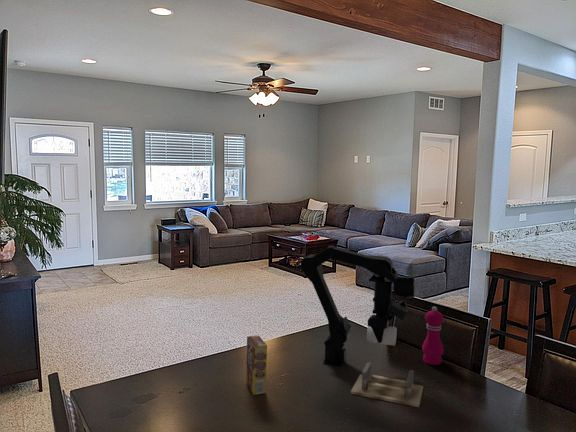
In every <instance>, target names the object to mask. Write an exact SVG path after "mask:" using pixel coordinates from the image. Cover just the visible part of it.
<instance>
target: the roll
mask: <svg viewBox="0 0 576 432" xmlns="http://www.w3.org/2000/svg"><path fill="white" fill-rule="evenodd" d="M397 331H398V330H397V327H395V326H388V327H387V328H386V329H384V334H383V338H382V343H378V341H377V339H376V336H375V334H374V332H373V330H372V328H371V327H370V326H368V325H367V329H366V341H367V342H369V343H375V344H381V345H388V346H395V345H396V343H397V333H398V332H397Z"/></svg>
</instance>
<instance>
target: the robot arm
mask: <svg viewBox="0 0 576 432" xmlns="http://www.w3.org/2000/svg"><path fill="white" fill-rule="evenodd" d="M330 259H331V260H335V261H339V262H343V263H345V264H349V265H353V266H357V267H360V268H364V269H365V270H367V271H369V272H370V273H373V274H372V275H371V276H370V277H369V278H368V281H369V282H373V283H374V284H373V285H374V287H373V289H374V292H373V297H372V302H373V309H372V314H371V316H369V318H368V319H367V327H368V326H370V327H371V328H372V330H373V332H374V334H375V336H376V339H377V341H378V343H377V344H380V343H382V338H383V334H384V329H386V328H387V327H388V326H389V325H390V324H389V323H390V321H391V320H392V319H393V318H394V317H396V318H399V320H400V321H405V320H406V317H407V315H408V312H409V310H410V308H409V307H408V305H407V302H406V301H405V300H401V301H400V302H397V301H394V297H393V296H392V290H393V293H394V295H396V297H402V298H413V299H414V298H415V294H416V293H415V292H416V289H415V288H416V285H415V276H401V275H399V273H398V272H397V271H396V269H395V268H394V263H393V261H392V259H391V258H390V257H388V256H382V255H366V254H362V253H358V252H355V251H351V250H349V249H344V248H340V247H336V246H335V245H329V246H328V247H326V248H324V249H322V250H321V251H319V252H318V253H316V254H309V255H307V256H306V257H304V258H303V259H302V260H301V262H300V269H301V270H302V272H303V274H304V275H305V277H306V279H308V280H309V281H310V282H311V284H312V285H313V288H314V290H315V293H316V295H317V297H318V300H319V303H320V305H321V308H322V309H323V312H324V314H325V316H326V318H327V324H328V325H327V326H328V332H329V334H328V335H327V338H325V340H324V342H323V345H324V360H323V364H326V365H333V366H336V367H337V366H338V367H342V365H343V364H344V363H345V361H346V360H347V359H346V357H347V355H346V354H347V349H346V348H345V343H346V342H347V340H348V338H349V336H350V334H351V327H352V325H351V324H350V323H349V321H348V317H347V316H344V317H343V316H342V315H341V314H340V313H339V311H338V308H337V306H336V303H335V301H334V299H333V295H332V294H331V292H330V289H329V287H328V284H327V282H326V280H325V277H324V267H323V264H324V263H325V262H327V261H329V260H330Z"/></svg>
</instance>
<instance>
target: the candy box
mask: <svg viewBox="0 0 576 432" xmlns="http://www.w3.org/2000/svg"><path fill="white" fill-rule="evenodd" d="M267 355H268V345H267V344H266V342H265V341H264V340H263V339H262V337H261V336H260V335H256V334H255V335H249V336H247V337H246V371H245V372H246V378H245V379H246V380H245V381H246V382H245V383H246V384H247V386H248V388H249V389H250V392H251V393H252V395H253V396H257V395H264V394H266V393H267V361H268V356H267Z"/></svg>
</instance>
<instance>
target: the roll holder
mask: <svg viewBox="0 0 576 432" xmlns="http://www.w3.org/2000/svg"><path fill="white" fill-rule="evenodd" d="M361 373H362V374H359V376H358V377H357V379H356V380H355V383H354V384H353V387H352V389H351V390H350V394H351V395H357V396H361V397H366V398H370V399H377V400H380V401H386V402H391V403H396V404H400V405H405V406H411V407H414V408H415V407H416V408H420V404H421V401H422V396H423V391H424V385H419V384H414V379H415V378H414V373H415V370H414V369H409V371H408V375H407V378H406V380H403V379H400V378H398V379H397V378H392V377H387V376H382V375H376V374H371V373H372V363H371V362H367V363H366V364H365V366H364V368H363V370H362V372H361Z"/></svg>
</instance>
